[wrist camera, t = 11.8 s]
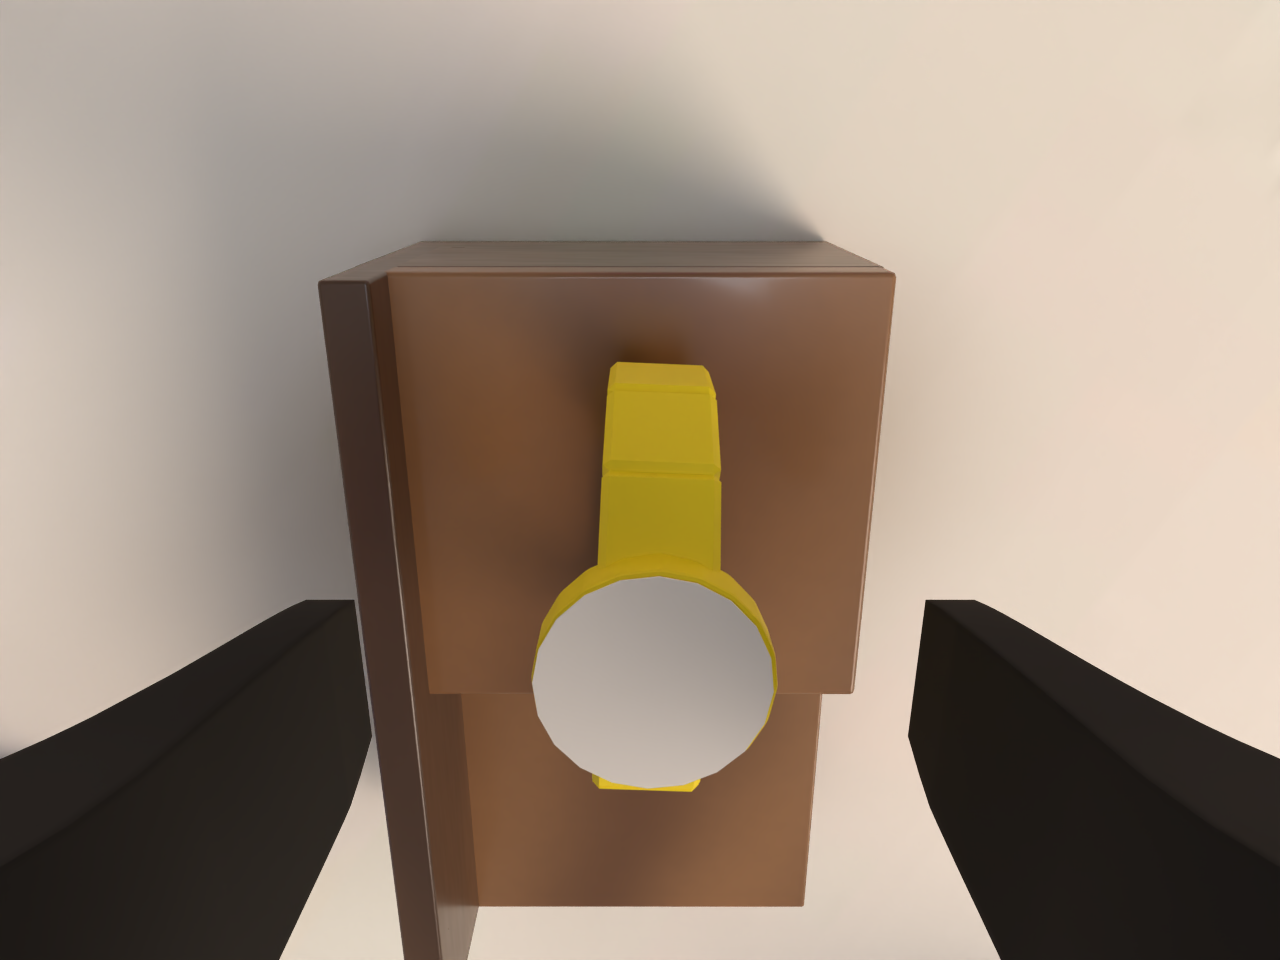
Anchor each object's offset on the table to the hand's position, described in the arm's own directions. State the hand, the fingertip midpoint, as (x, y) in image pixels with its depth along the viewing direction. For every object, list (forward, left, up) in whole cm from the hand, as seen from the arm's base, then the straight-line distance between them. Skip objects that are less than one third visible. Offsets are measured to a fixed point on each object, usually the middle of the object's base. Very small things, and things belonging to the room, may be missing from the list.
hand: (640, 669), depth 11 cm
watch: (0, 0, -5) cm, 5 cm away
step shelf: (0, -4, -10) cm, 11 cm away
